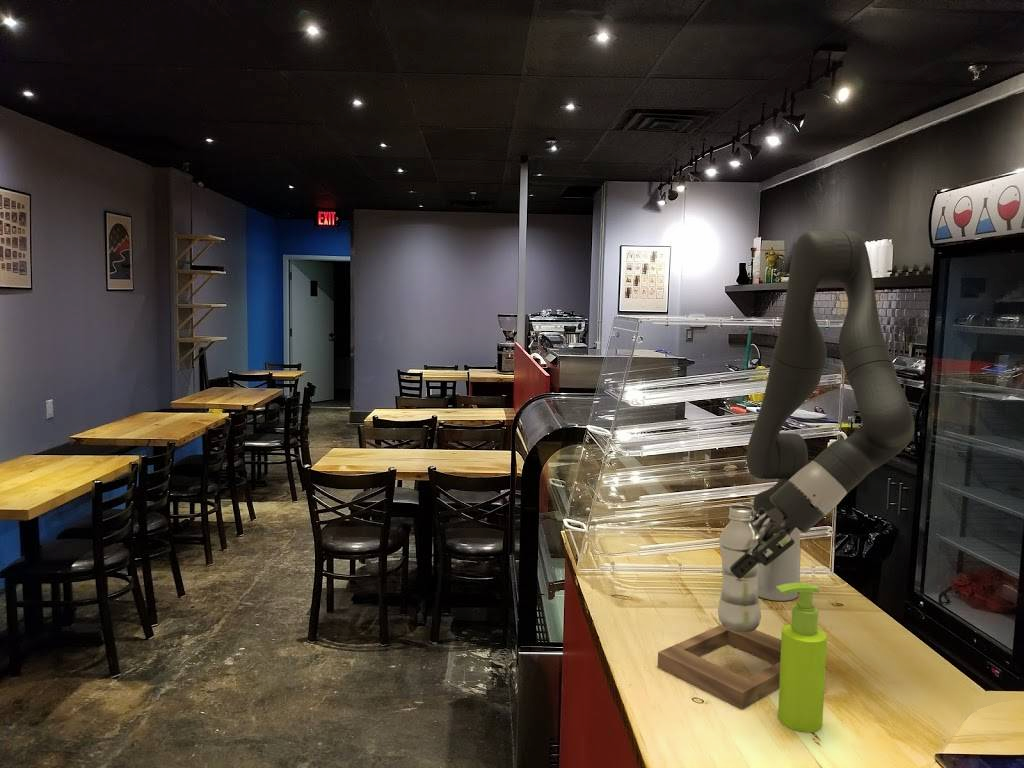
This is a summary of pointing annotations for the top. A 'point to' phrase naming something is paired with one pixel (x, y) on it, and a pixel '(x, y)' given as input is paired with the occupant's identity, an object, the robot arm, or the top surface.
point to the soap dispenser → (802, 663)
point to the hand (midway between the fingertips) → (729, 566)
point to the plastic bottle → (736, 594)
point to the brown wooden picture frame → (717, 679)
